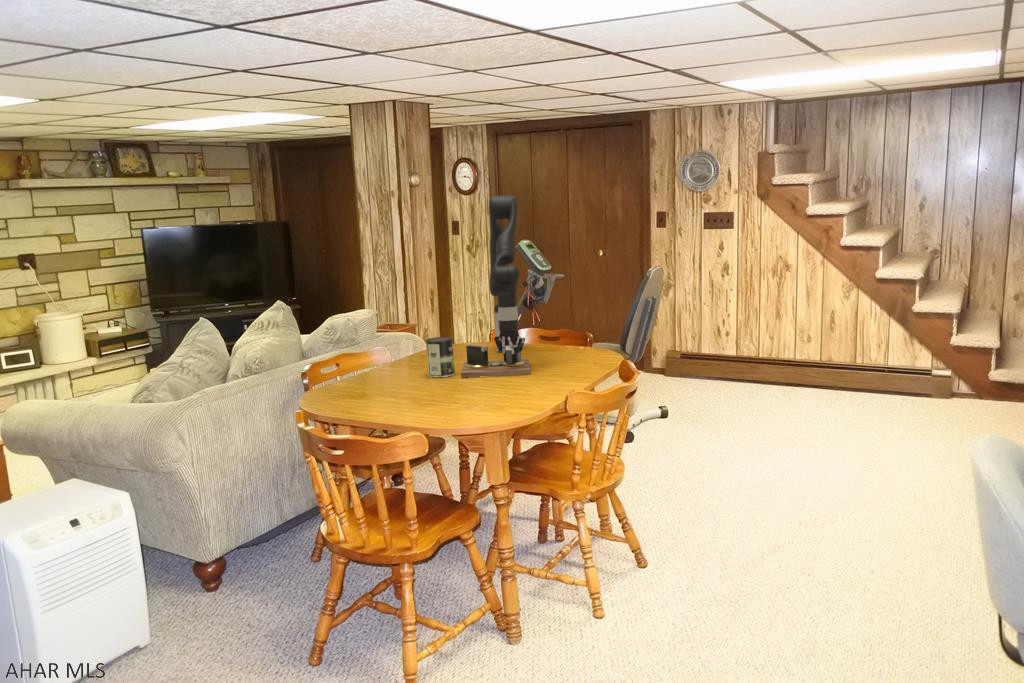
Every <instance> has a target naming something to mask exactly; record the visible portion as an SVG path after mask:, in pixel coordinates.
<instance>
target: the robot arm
mask: <svg viewBox="0 0 1024 683" xmlns="http://www.w3.org/2000/svg"><path fill="white" fill-rule="evenodd" d="M488 215H489V228H490V234H489V235H490V236H489V259H490V270H489V292H490V294H491V296H493V297H497V304H495V305H494V308H493V310H494V324H495V325H494V326H495V336H494V337H493V340H494V341H495V342H494V343H495V345H496V352H498V351H500V352H499V353H502V354H503V360H504V361H505V363H507V361H506V348H505V346H507V345H510V348H512V363H513V364H515V363H517V362H518V353H519V352H521V353H522V352H523V349H524V345H525V341H526V338H525V337H521V336H520V334H519V329H520V326H519V312H518V306H517V290H518V283H519V279H520V275H521V274H520V273H521V272H520V269H519V268H518V266H516V265H511V264H513V262H514V261H515V237H516V236H515V235H516V227H517V217H518V201H517V197H516V196H514V195H492V196H491V197H490V198H489V201H488ZM499 220H508V221H507V224H506V225H505V228H503V227H502V225H501V223H500V221H499ZM517 342H518V344H517ZM513 345H514V346H513Z"/></svg>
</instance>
